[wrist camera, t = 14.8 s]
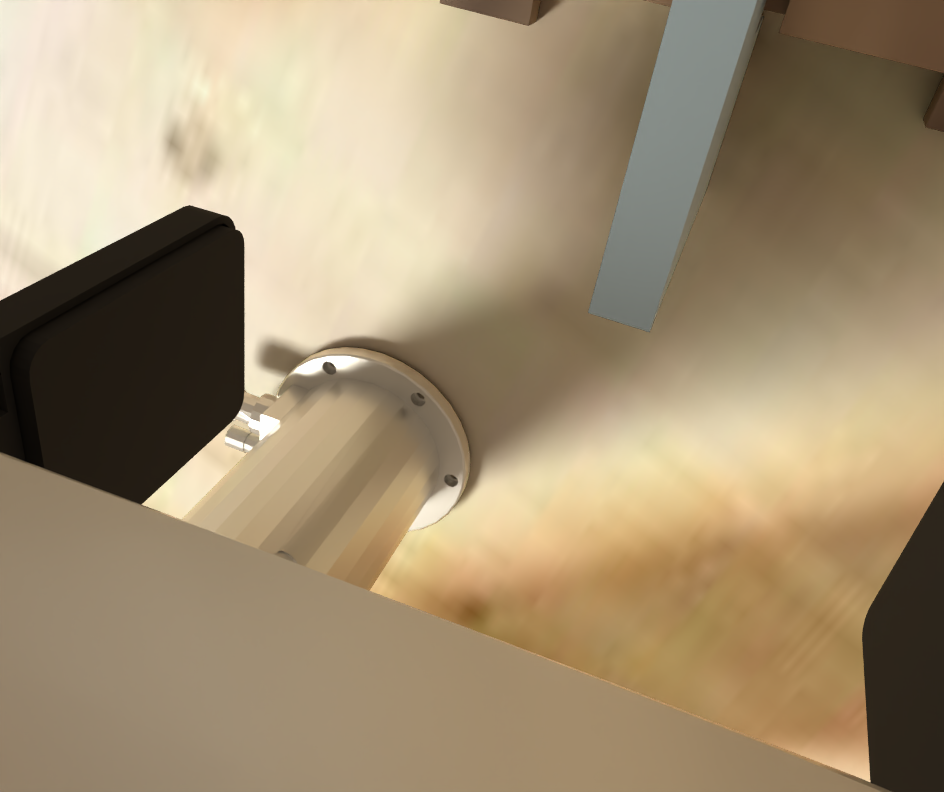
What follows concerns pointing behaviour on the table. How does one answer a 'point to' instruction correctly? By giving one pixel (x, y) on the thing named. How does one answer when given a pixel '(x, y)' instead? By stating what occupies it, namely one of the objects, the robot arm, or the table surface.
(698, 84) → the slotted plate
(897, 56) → the slotted board
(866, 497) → the table surface
